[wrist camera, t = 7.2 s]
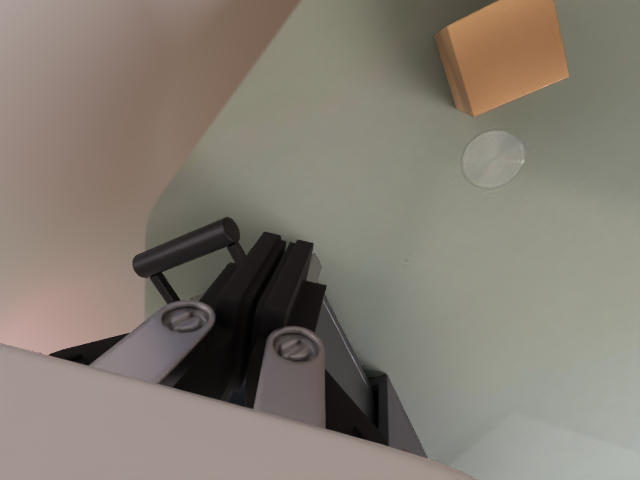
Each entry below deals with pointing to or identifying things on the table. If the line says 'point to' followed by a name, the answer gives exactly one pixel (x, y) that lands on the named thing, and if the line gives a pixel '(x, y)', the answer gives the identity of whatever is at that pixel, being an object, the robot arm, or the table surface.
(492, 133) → the table surface
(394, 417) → the cabinet
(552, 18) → the block
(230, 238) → the pull-out drawer
